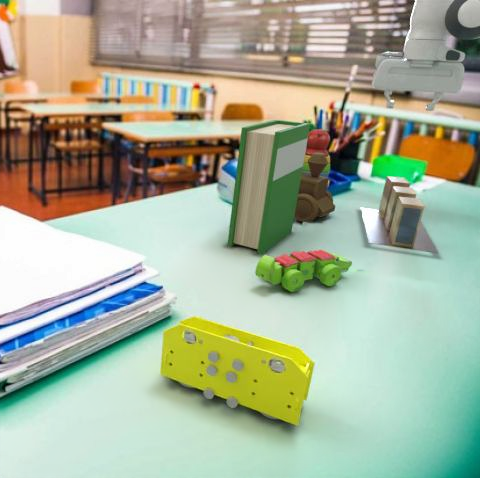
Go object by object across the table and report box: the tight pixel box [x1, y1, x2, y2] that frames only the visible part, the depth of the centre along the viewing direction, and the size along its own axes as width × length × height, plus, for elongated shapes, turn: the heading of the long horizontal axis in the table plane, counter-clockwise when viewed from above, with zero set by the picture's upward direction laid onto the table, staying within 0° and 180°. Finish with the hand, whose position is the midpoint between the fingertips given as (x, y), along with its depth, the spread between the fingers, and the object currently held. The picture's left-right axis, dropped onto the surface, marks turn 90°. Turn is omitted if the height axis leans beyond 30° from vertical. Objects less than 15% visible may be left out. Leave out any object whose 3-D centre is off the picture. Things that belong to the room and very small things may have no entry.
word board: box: [360, 207, 439, 254], centre depth 114 cm, size 13×28×1 cm, turn 159°
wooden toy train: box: [294, 153, 336, 223], centre depth 121 cm, size 20×11×17 cm, turn 47°
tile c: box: [378, 175, 411, 217], centre depth 121 cm, size 4×6×9 cm, turn 164°
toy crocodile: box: [254, 249, 353, 293], centre depth 85 cm, size 20×7×6 cm, turn 111°
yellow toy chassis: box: [159, 315, 315, 426], centre depth 56 cm, size 16×6×8 cm, turn 60°
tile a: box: [384, 186, 417, 230], centre depth 112 cm, size 4×6×9 cm, turn 159°
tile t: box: [389, 196, 425, 248], centre depth 103 cm, size 4×6×9 cm, turn 158°
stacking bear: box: [302, 128, 331, 178], centre depth 143 cm, size 11×10×18 cm
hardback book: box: [226, 119, 311, 256], centre depth 102 cm, size 18×7×24 cm, turn 143°
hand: (409, 109), depth 128 cm, fingers open, 8 cm apart
